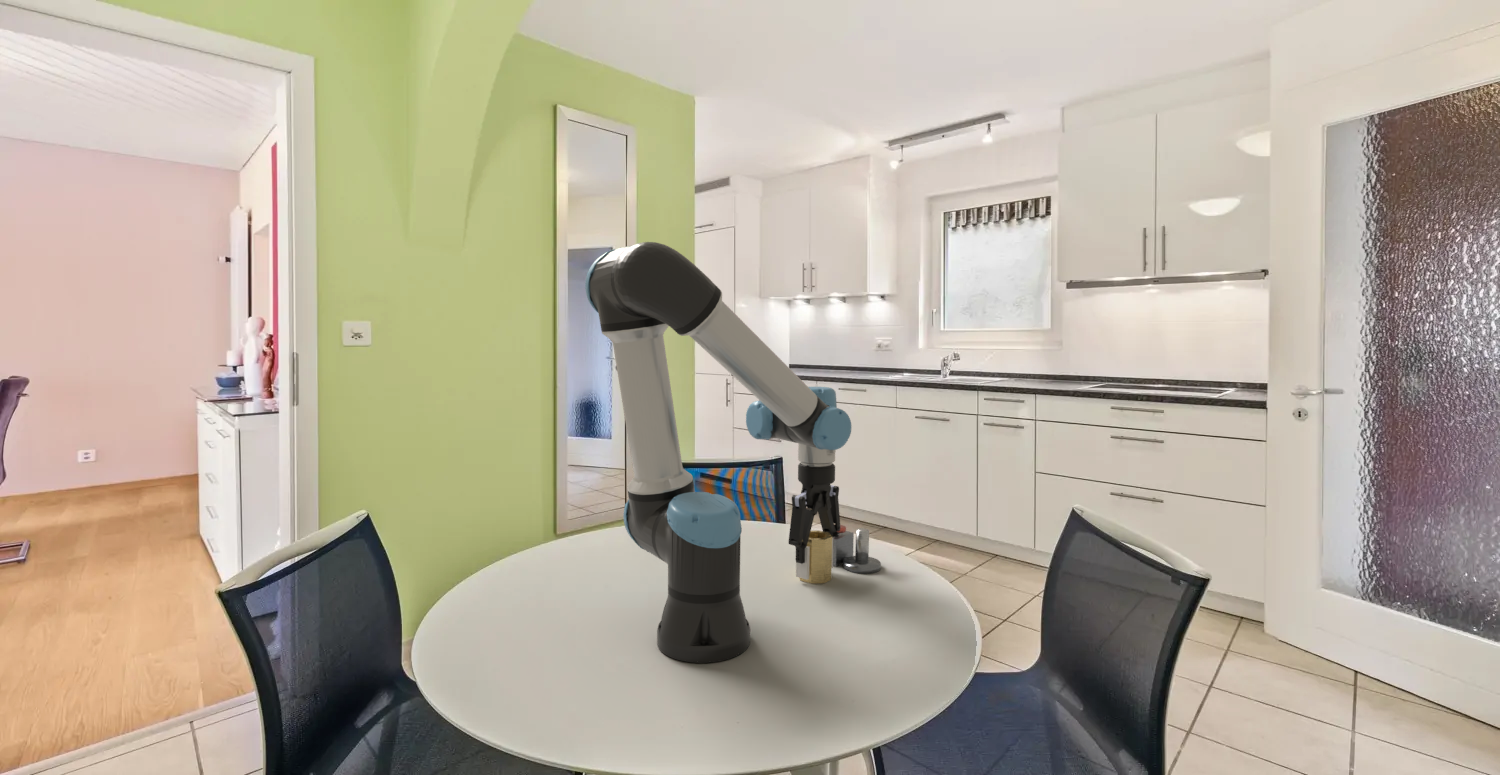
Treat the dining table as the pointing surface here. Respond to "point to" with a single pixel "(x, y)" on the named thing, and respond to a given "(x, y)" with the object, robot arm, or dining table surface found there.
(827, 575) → the tan octagonal tube
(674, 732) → the dining table surface
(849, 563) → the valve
